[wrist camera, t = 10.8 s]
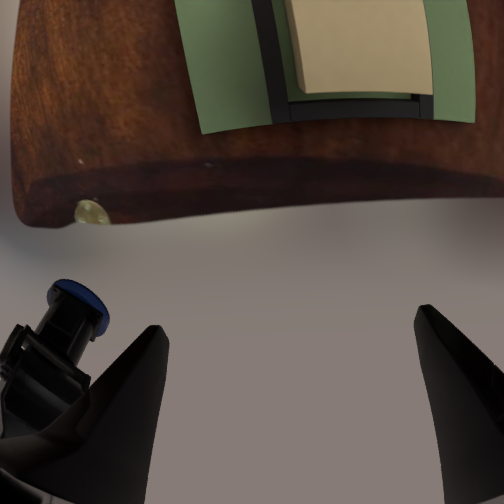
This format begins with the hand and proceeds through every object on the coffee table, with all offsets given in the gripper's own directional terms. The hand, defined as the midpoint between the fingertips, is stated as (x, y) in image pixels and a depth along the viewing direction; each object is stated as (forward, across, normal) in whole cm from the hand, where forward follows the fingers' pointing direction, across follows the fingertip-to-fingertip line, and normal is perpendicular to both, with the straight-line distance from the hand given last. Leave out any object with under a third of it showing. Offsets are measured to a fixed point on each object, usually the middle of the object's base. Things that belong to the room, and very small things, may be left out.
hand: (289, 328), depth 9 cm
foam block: (+11, -5, -9) cm, 15 cm away
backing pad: (+12, -5, -9) cm, 16 cm away
